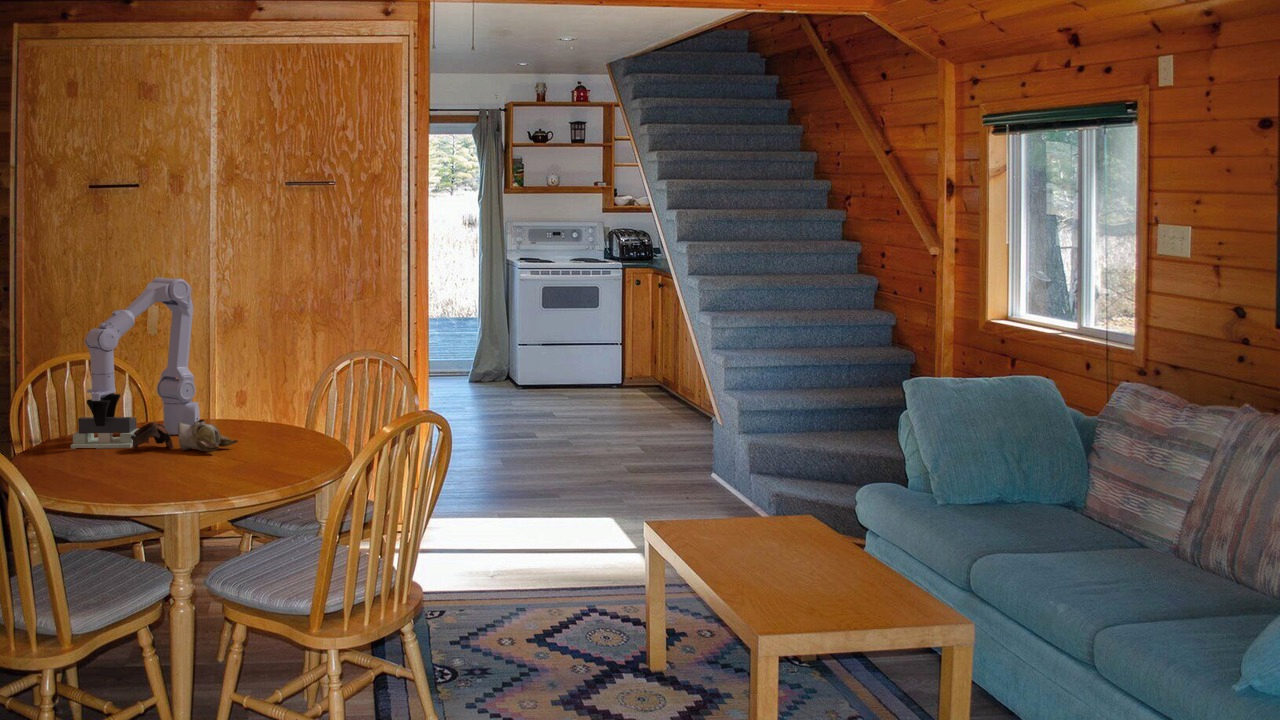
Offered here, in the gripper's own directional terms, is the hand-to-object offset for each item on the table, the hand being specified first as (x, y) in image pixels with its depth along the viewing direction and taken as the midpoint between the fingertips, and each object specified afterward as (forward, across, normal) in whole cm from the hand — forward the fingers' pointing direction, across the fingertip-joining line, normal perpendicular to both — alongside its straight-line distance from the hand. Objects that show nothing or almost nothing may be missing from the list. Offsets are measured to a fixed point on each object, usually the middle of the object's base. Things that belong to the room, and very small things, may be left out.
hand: (104, 423), depth 330 cm
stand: (+6, 0, 0) cm, 6 cm away
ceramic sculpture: (+6, +9, +27) cm, 29 cm away
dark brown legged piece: (+6, +6, +14) cm, 16 cm away
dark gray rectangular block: (+2, -3, 0) cm, 3 cm away
